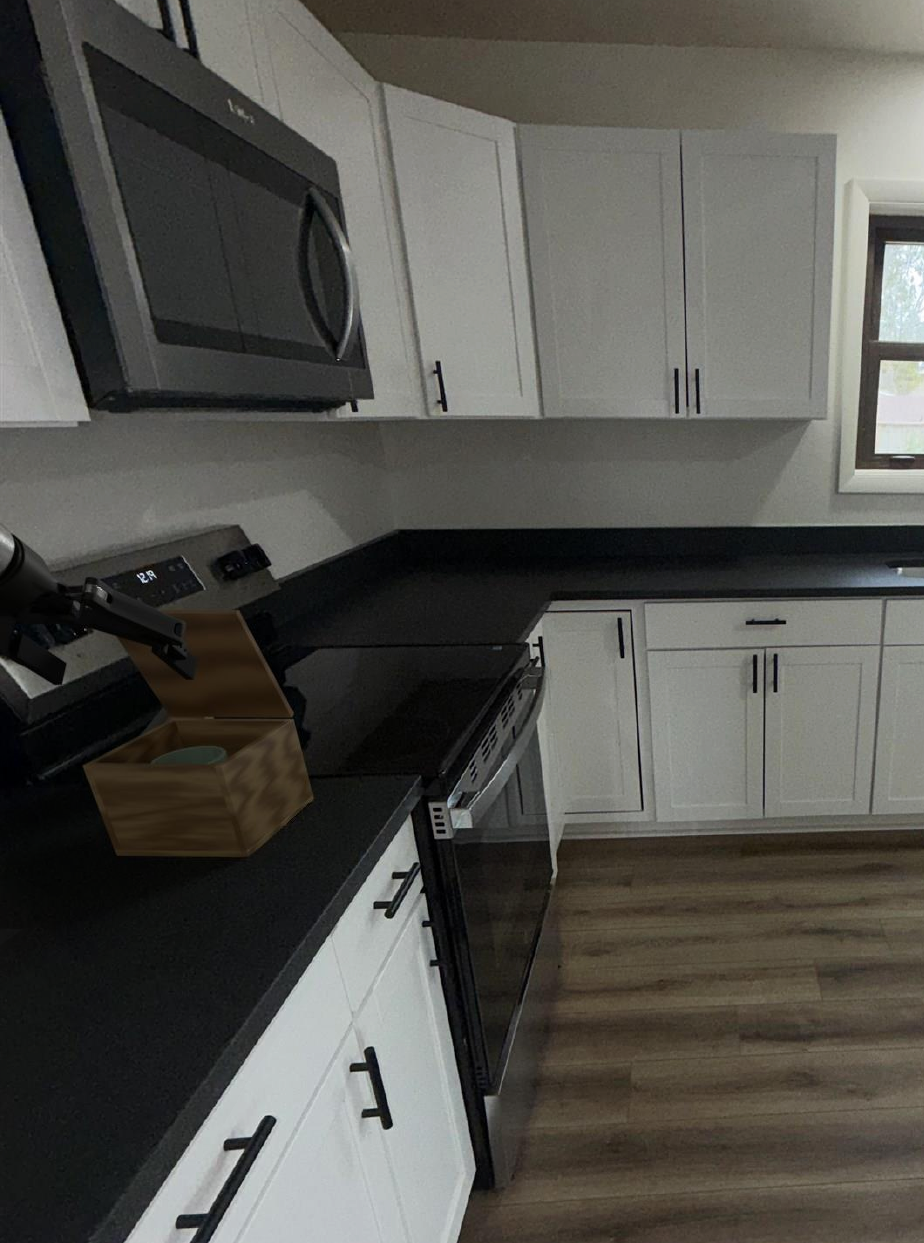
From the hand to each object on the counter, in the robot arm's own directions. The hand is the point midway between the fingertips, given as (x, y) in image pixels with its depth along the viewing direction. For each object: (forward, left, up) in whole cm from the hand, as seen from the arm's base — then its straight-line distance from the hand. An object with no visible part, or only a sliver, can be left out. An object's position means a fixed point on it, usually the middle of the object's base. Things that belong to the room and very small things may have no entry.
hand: (127, 671), depth 90 cm
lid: (0, +12, -3) cm, 12 cm away
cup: (0, +5, -23) cm, 23 cm away
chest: (0, +7, -24) cm, 25 cm away
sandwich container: (-19, +23, -24) cm, 38 cm away
